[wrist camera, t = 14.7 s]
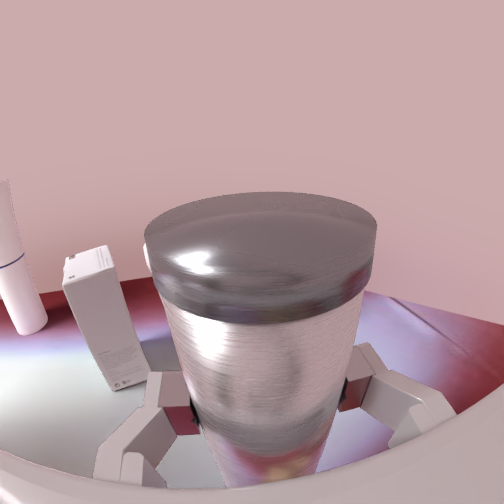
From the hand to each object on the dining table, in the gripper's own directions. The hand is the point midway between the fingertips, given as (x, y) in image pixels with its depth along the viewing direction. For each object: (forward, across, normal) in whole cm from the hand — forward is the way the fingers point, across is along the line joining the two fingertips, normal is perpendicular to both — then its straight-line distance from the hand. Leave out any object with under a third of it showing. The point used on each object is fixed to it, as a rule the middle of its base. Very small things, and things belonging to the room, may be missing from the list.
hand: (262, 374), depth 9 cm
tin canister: (-1, 0, +8) cm, 8 cm away
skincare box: (+18, +15, +18) cm, 30 cm away
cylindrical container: (+28, +37, +17) cm, 49 cm away
